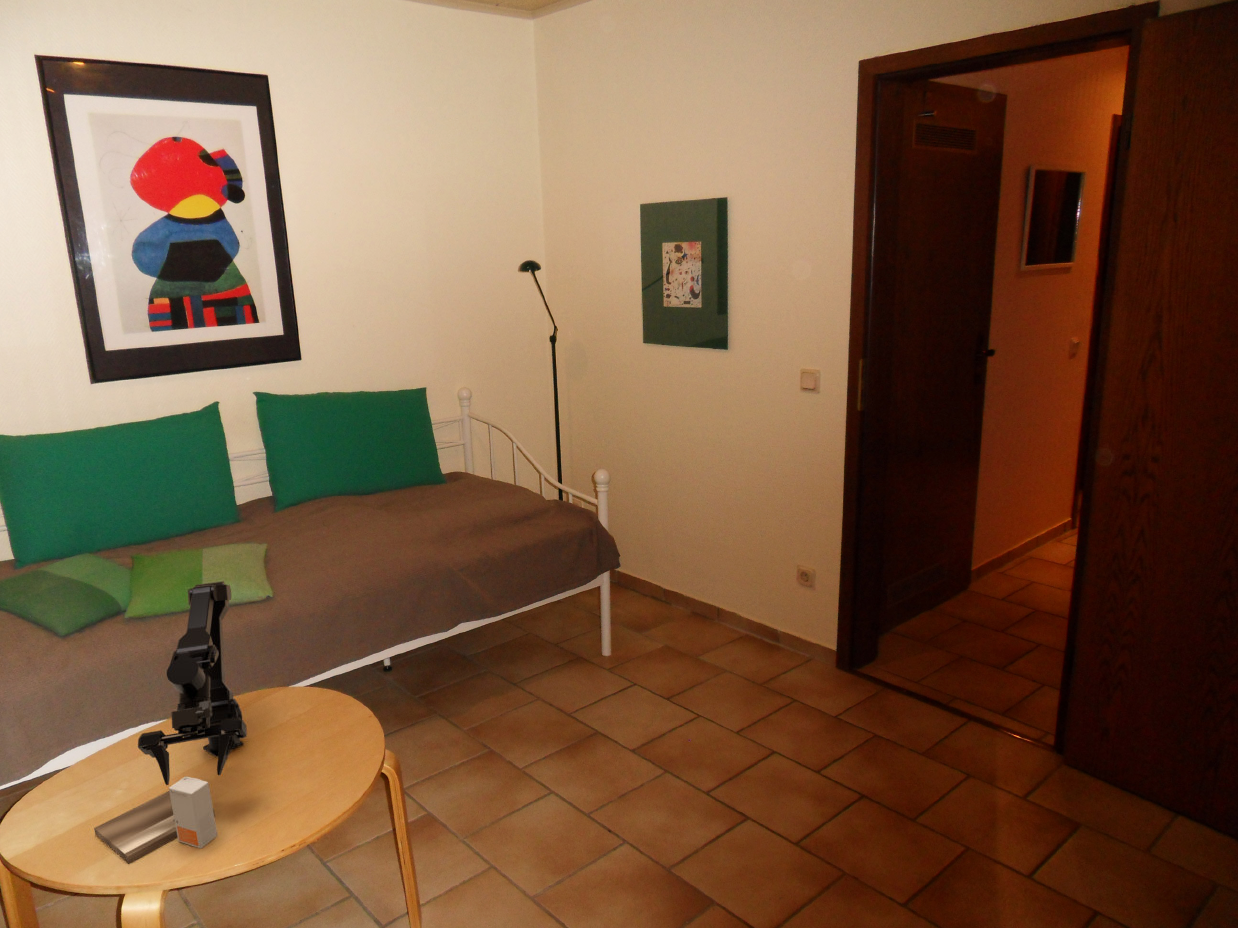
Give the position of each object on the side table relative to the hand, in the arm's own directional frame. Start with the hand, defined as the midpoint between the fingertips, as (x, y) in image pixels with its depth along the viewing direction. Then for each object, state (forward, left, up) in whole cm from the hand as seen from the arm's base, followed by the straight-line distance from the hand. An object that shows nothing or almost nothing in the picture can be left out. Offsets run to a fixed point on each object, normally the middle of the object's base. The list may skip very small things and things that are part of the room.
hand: (193, 779), depth 166 cm
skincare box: (+3, -2, -11) cm, 11 cm away
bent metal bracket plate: (-8, -5, -11) cm, 14 cm away
